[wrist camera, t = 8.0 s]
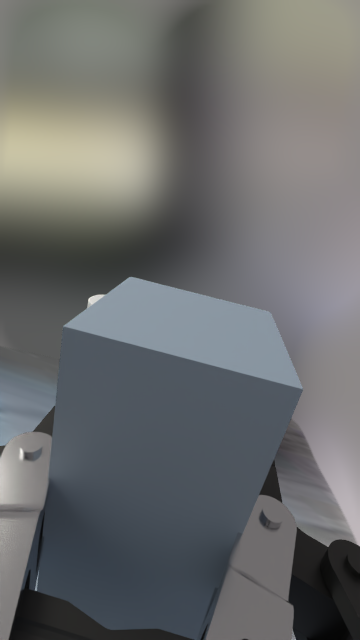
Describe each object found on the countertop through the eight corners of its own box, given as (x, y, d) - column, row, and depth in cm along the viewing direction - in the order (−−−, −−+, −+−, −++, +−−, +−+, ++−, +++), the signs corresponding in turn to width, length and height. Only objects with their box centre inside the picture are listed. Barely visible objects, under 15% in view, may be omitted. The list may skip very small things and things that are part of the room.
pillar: (30, 653, 10) (63, 325, 6) (89, 519, 14) (130, 276, 10) (173, 698, 10) (303, 389, 6) (189, 548, 14) (270, 311, 10)
